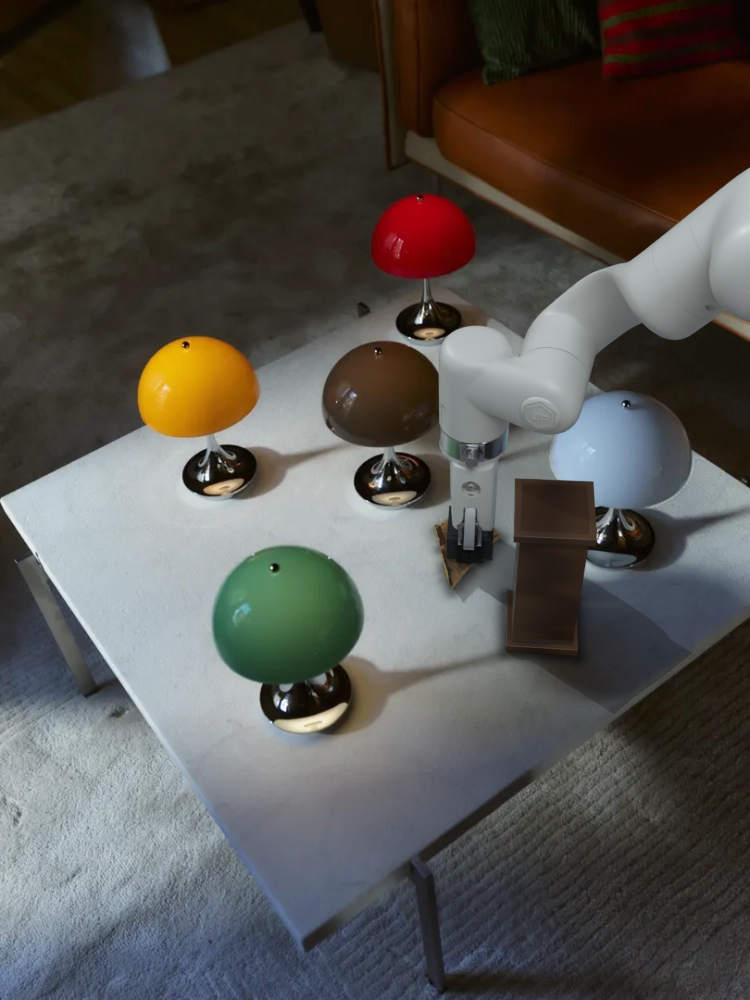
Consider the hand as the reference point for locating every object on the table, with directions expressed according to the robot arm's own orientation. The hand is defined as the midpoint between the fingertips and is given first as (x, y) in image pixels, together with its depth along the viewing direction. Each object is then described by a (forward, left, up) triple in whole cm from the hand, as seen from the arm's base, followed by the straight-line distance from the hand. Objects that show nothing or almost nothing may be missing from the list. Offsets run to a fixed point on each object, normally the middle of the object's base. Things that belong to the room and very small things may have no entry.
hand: (470, 540), depth 116 cm
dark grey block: (0, 0, 0) cm, 0 cm away
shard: (0, 0, -2) cm, 2 cm away
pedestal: (-9, +11, -2) cm, 14 cm away
